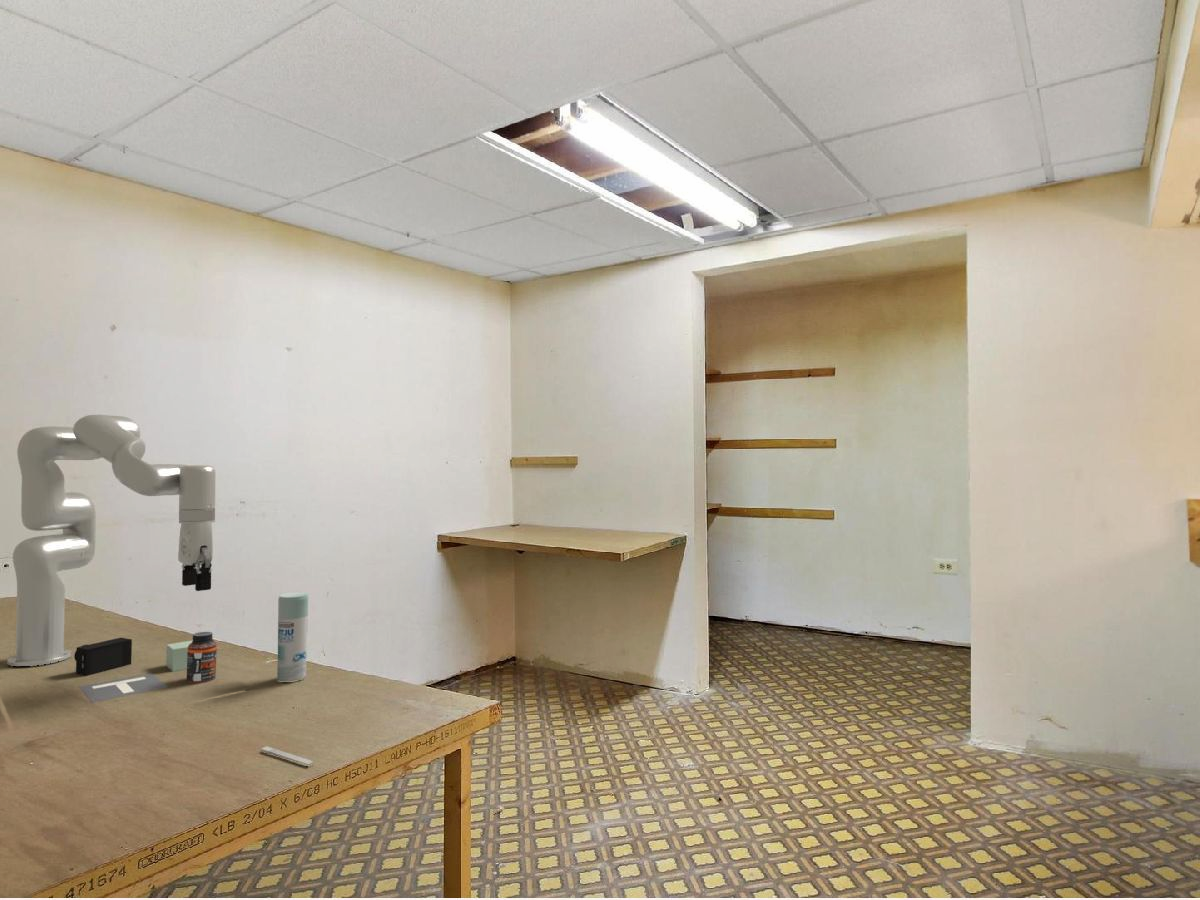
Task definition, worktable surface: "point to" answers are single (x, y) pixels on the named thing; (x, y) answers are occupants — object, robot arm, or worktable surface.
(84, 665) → the digital camera
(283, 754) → the light grey rod
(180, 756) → the worktable surface
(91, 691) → the board
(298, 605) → the spray paint can
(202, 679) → the supplement bottle
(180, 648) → the sage block
